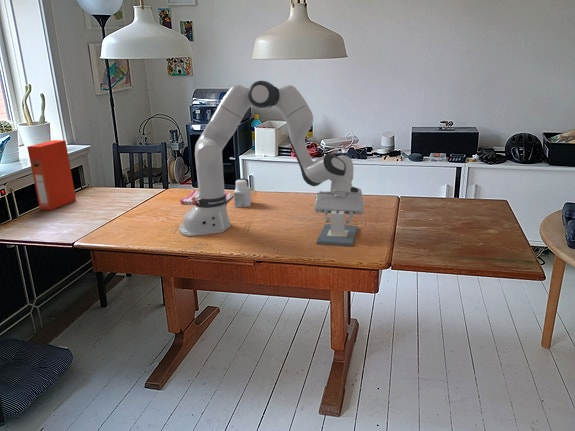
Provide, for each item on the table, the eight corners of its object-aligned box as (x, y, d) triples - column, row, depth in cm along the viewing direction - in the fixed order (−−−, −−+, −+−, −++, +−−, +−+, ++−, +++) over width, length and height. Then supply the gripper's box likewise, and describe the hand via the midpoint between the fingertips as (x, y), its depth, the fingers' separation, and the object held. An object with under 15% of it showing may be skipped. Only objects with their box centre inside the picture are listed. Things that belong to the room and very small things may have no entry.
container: (236, 202, 257) (235, 177, 252) (251, 202, 256) (250, 177, 252) (234, 207, 249) (232, 181, 245) (250, 206, 249) (248, 181, 245)
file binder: (39, 209, 256) (27, 146, 246) (63, 199, 272) (53, 140, 261) (52, 210, 254) (40, 147, 243) (76, 200, 269) (65, 140, 259)
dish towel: (192, 195, 273) (191, 189, 271) (233, 197, 268) (233, 190, 267) (179, 205, 257) (178, 198, 256) (223, 206, 252) (222, 200, 251)
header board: (324, 226, 219) (324, 218, 218) (357, 228, 216) (357, 220, 214) (316, 243, 200) (316, 235, 199) (352, 246, 197) (352, 237, 196)
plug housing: (332, 230, 210) (332, 209, 207) (344, 231, 209) (344, 210, 206) (330, 234, 206) (330, 213, 203) (343, 235, 205) (343, 213, 202)
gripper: (315, 187, 211) (311, 217, 205) (364, 189, 206) (362, 220, 200) (317, 195, 216) (313, 224, 211) (365, 196, 212) (362, 226, 206)
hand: (337, 222), depth 205 cm, fingers open, 7 cm apart
